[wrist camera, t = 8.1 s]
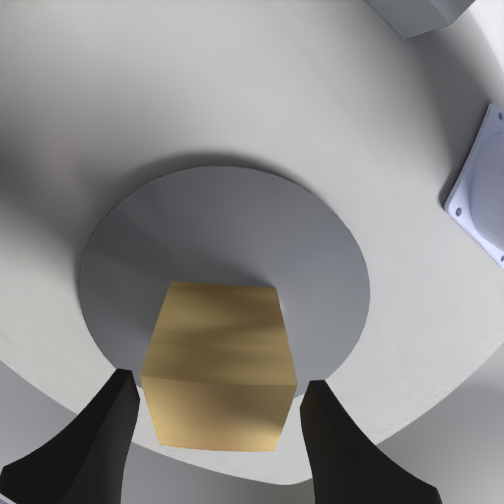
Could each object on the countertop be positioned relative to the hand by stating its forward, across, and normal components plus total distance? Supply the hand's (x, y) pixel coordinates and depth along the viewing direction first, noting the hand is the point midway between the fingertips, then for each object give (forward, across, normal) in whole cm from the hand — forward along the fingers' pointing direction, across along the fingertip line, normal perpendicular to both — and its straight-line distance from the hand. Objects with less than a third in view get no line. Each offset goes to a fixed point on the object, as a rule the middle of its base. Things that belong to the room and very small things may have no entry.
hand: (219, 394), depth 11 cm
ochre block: (+4, 0, 0) cm, 5 cm away
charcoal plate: (+6, 0, 0) cm, 6 cm away
